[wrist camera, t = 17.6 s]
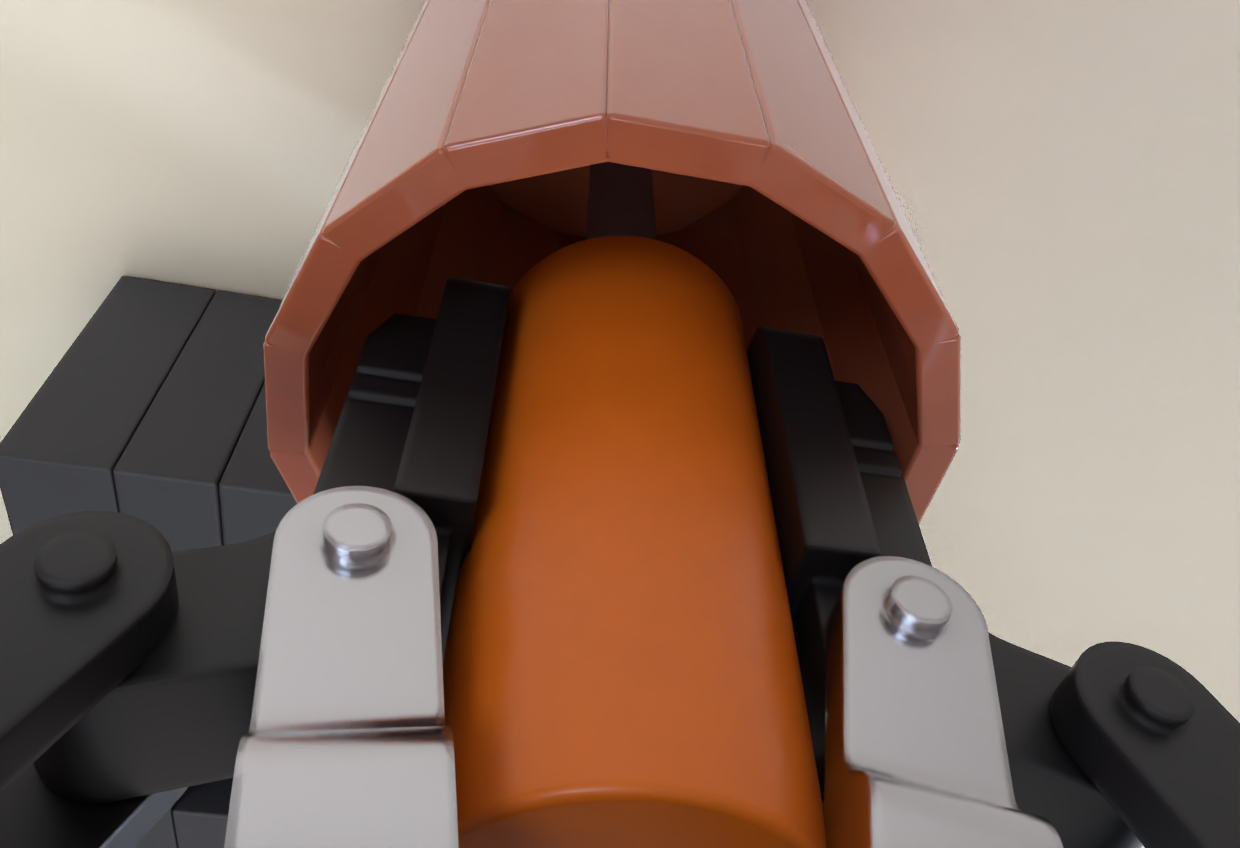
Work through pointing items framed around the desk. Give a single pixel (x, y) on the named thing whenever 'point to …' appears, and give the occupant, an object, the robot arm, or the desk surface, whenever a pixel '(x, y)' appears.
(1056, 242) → the desk surface
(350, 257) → the pen cup
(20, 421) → the holder
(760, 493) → the orange cylinder rod
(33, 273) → the desk surface
